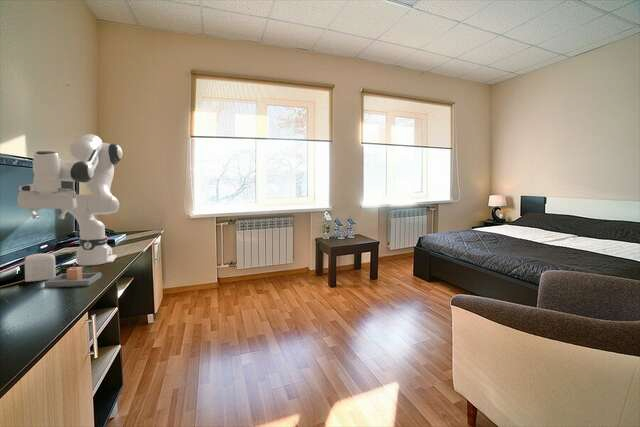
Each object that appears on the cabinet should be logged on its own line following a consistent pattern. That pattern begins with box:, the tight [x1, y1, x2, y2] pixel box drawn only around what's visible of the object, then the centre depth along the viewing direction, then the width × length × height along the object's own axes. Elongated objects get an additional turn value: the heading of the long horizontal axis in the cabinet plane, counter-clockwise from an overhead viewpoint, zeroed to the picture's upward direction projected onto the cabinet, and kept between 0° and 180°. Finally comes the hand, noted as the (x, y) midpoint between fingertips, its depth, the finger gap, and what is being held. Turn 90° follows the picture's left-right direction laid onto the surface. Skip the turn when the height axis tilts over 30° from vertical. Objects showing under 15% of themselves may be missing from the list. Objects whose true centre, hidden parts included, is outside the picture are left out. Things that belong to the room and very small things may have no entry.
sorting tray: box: [44, 272, 102, 289], centre depth 130 cm, size 12×16×2 cm
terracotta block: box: [66, 266, 83, 281], centre depth 129 cm, size 4×4×6 cm
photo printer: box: [24, 253, 57, 283], centre depth 131 cm, size 10×4×12 cm, turn 124°
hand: (48, 218), depth 126 cm, fingers open, 8 cm apart
